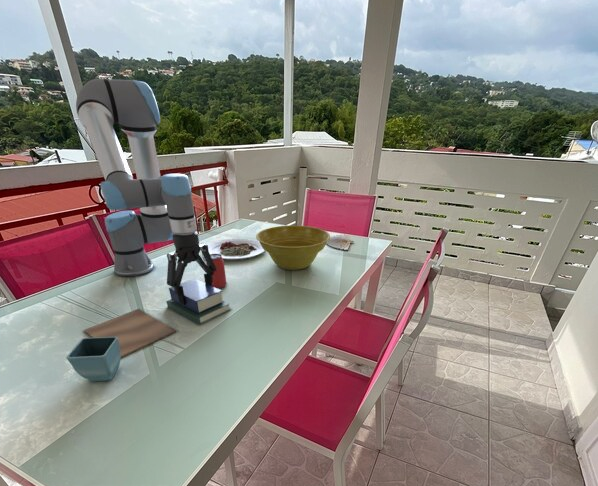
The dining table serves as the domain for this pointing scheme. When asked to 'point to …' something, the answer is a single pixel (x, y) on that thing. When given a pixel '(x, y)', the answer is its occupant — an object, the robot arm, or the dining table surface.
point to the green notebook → (199, 317)
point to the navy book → (198, 296)
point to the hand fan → (339, 241)
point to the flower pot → (96, 358)
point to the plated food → (236, 248)
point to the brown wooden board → (132, 331)
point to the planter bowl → (293, 245)
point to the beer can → (218, 271)
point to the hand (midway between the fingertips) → (196, 297)
